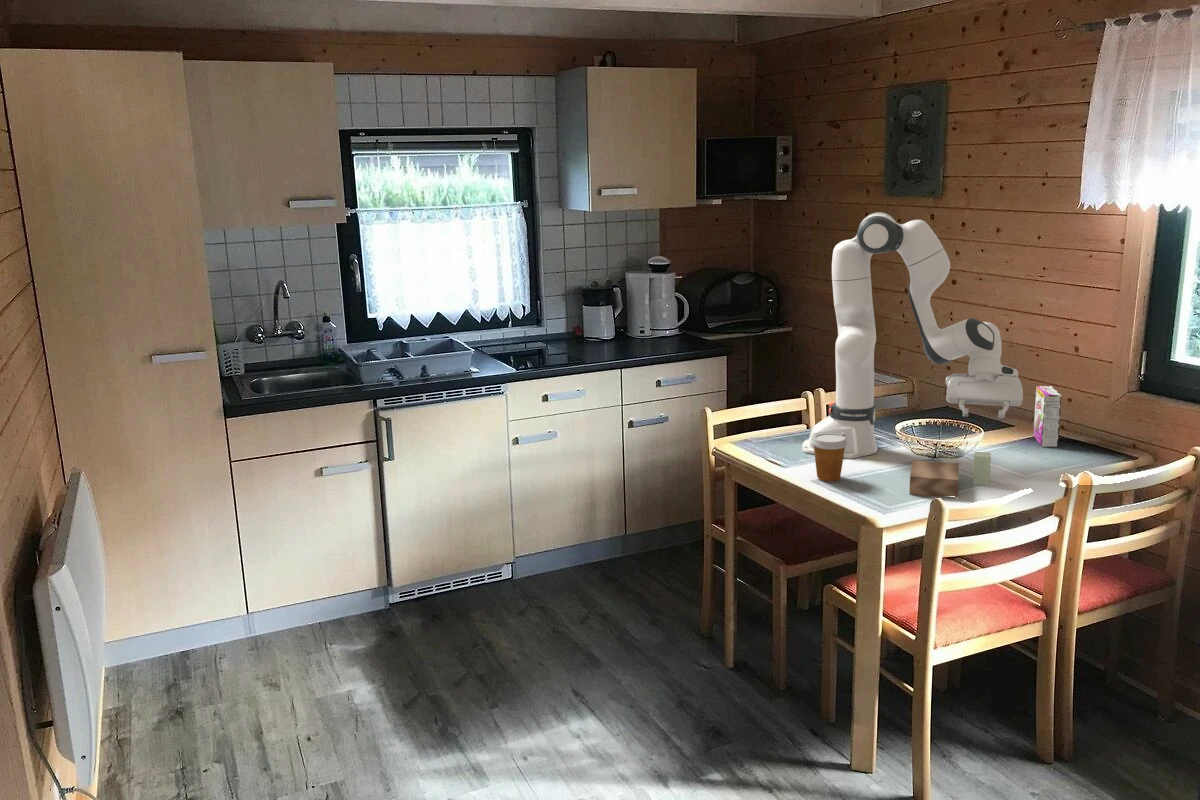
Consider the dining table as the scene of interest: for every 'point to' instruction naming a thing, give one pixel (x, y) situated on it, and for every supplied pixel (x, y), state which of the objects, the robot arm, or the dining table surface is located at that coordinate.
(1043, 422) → the candy bar box
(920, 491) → the walnut plinth
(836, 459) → the disposable coffee cup
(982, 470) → the sage block
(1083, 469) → the dining table surface
